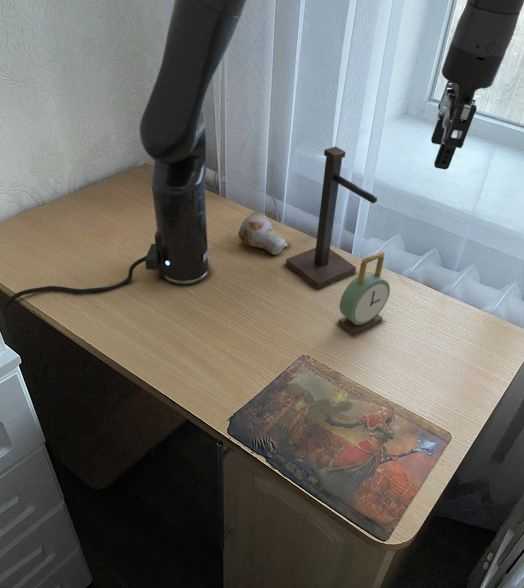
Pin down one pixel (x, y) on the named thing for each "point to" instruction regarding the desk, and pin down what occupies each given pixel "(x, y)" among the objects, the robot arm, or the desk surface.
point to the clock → (364, 298)
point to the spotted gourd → (261, 233)
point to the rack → (327, 230)
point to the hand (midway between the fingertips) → (438, 155)
